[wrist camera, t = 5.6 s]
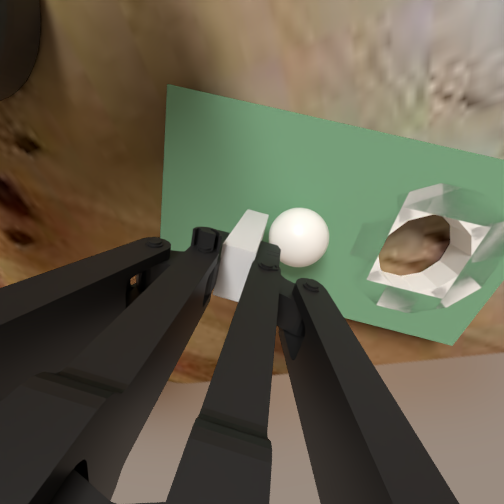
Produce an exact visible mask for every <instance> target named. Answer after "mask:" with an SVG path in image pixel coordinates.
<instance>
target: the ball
mask: <svg viewBox="0 0 504 504" xmlns="http://www.w3.org/2000/svg"><path fill="white" fill-rule="evenodd" d="M269 243H271V244H275V245H278V246H279V248H280V249H281V254H280V261H281V262H282V263H284V264H286V265H288V266H292V267H306V266H309V265H311V264H313V263H315V262H317V261H318V260H319V259H320V258H321V257H322V256H323V255H324V253H325V252H326V250H327V247H328V244H329V230H328V227H327V225H326V223H325V221H324V220H323V218H322V217H321V216H320V215H319V214H317V213H316V212H314V211H312V210H310V209H307V208H292V209H289V210H286V211H284V212H283V213H281V214H280V215H279V216H278V217H277V218H276V219H275V220H274V222H273V223H272V225H271V227H270V231H269Z"/></svg>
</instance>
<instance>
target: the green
mask: <svg viewBox="0 0 504 504" xmlns="http://www.w3.org/2000/svg"><path fill="white" fill-rule="evenodd" d="M292 208H307V209H310V210H312V211H314V212H316V213H317V214H319V215H320V216H321V217H322V218H323V220H324V221H325V223H326V225H327V227H328V230H329V244H328V247H327V250H326V252H325V253H324V255H323V256H322V257H321V258H320V259H319V260H318V261H317V262H315V263H313V264H311V265H309V266H306V267H292V266H288V265H286V264H284V263H282V262H281V261H280V264H279V267H280V268H281V275H282V276H283V277H284V278H286V279H287V280H289V281H291V282H293V283H295V282H296V281H297V279H299V278H308V279H313V280H316V281H318V282H319V283H320V284H322V285H323V286H324V287H325V288H326V290H327V291H328V293H329V294H330V296H331V298H332V299H333V301H334V302H335V304H336V306H337V307H338V309H339V311H340V312H341V314H342V315H343V317H344V318H347V319H351V320H355V321H359V322H363V323H366V324H370V325H374V326H378V327H382V328H386V329H390V330H394V331H397V332H401V333H405V334H409V335H413V336H417V337H421V338H425V339H428V340H432V341H436V342H440V343H444V344H448V345H453V344H454V343H455V342H456V340H457V339H458V338H459V337H460V335H461V334H462V333H463V331H464V330H465V329H466V328H467V326H468V325H469V324H470V322H471V321H472V320H473V319H474V317H475V316H476V315H477V313H478V312H479V311H480V310H481V308H482V307H483V306H484V304H485V303H486V302H487V301H488V299H489V298H490V297H491V296H492V294H493V293H494V292H495V290H496V289H497V288H498V287H499V285H500V284H501V283H502V281H503V280H504V160H502V159H497V158H493V157H489V156H484V155H480V154H475V153H471V152H466V151H462V150H458V149H453V148H449V147H444V146H440V145H435V144H431V143H427V142H422V141H418V140H413V139H409V138H404V137H400V136H396V135H391V134H387V133H382V132H378V131H374V130H369V129H365V128H360V127H356V126H351V125H347V124H343V123H338V122H334V121H329V120H325V119H320V118H316V117H312V116H307V115H303V114H298V113H294V112H290V111H285V110H281V109H276V108H272V107H267V106H263V105H259V104H254V103H250V102H245V101H241V100H236V99H232V98H228V97H223V96H219V95H214V94H210V93H206V92H201V91H197V90H192V89H188V88H183V87H179V86H175V85H170V84H167V100H166V122H165V144H164V166H163V187H162V209H161V231H160V238H162V239H165V240H167V241H169V242H170V244H171V250H174V251H186V250H187V249H188V248H189V247H190V246H191V240H192V232H193V228H195V227H210V228H214V229H216V230H221V231H225V232H228V233H231V232H232V230H233V229H234V228H235V226H236V225H237V223H238V222H239V221H240V219H241V218H242V216H243V215H244V214H245V212H246V211H247V209H249V210H253V211H256V212H260V213H264V214H268V215H269V217H268V220H267V224H266V228H265V231H264V235H263V239H262V241H264V242H267V243H269V231H270V227H271V225H272V223H273V222H274V220H275V219H276V218H277V217H278V216H279V215H280V214H281V213H283V212H284V211H286V210H289V209H292ZM434 214H435V215H439V216H442V217H443V218H444V219H445V220H446V221H447V222H448V223H449V225H450V244H449V246H448V247H447V249H446V251H445V252H444V254H443V256H442V257H441V259H440V260H439V261H438V262H436V263H435V264H433V265H432V266H430V267H429V268H427V269H426V270H424V271H423V272H420V273H415V274H409V275H404V276H399V275H395V274H391V273H387V272H383V271H382V270H381V269H380V264H379V257H378V255H379V253H380V251H381V249H382V247H383V245H384V243H385V241H386V239H387V237H388V235H390V234H391V233H392V232H394V231H395V230H396V229H398V228H399V227H400V226H402V225H403V224H404V223H406V222H407V221H408V220H413V219H417V218H421V217H425V216H429V215H434Z"/></svg>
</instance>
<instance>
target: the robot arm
mask: <svg viewBox="0 0 504 504" xmlns="http://www.w3.org/2000/svg"><path fill="white" fill-rule="evenodd" d="M39 40H40V5H39V0H0V100H3V99H5V98H7V97H9V96H11V95H12V94H14V93H15V92H16V91H17V90H18V89H19V88H20V87H21V86H22V85H23V84H24V83H25V81H26V80H27V78H28V76H29V75H30V73H31V71H32V68H33V66H34V63H35V60H36V56H37V52H38V47H39ZM268 217H269V215H268V214H264V213H260V212H256V211H253V210H249V209H247V211H246V212H245V214H244V215H243V216H242V218H241V219H240V221H239V222H238V223H237V225H236V226H235V228H234V229H233V230H232V232H231V233H228V232H225V231H221V230H216V229H214V228H210V227H195V228H193V232H192V240H191V246H190V247H189V248H188V249H187V250H186V251H174V250H171V244H170V242H169V241H167V240H165V239H162V238H159V237H148V238H143V239H140V240H137V241H134V242H131V243H129V244H126V245H123V246H120V247H117V248H114V249H111V250H108V251H106V252H103V253H100V254H97V255H94V256H91V257H88V258H86V259H83V260H80V261H77V262H74V263H71V264H68V265H66V266H63V267H60V268H57V269H54V270H51V271H48V272H45V273H43V274H40V275H37V276H34V277H31V278H28V279H25V280H23V281H20V282H17V283H14V284H11V285H8V286H5V287H3V288H0V504H115V503H113V502H111V501H110V500H111V498H112V495H113V493H114V490H115V488H116V485H117V482H118V479H119V476H120V473H121V470H122V468H123V465H124V463H125V461H126V459H127V457H128V455H129V453H130V451H131V449H132V447H133V445H134V443H135V441H136V440H137V438H138V436H139V434H140V432H141V430H142V428H143V426H144V424H145V422H146V421H147V419H148V417H149V415H150V413H151V411H152V409H153V407H154V405H155V403H156V402H157V400H158V398H159V396H160V394H161V392H162V390H163V388H164V386H165V385H166V383H167V381H168V379H169V377H170V375H171V373H172V371H173V370H174V368H175V366H176V364H177V362H178V360H179V358H180V356H181V354H182V352H183V351H184V349H185V347H186V345H187V343H188V341H189V339H190V337H191V335H192V334H193V332H194V330H195V328H196V326H197V324H198V322H199V320H200V318H201V317H202V315H203V313H204V311H205V309H206V307H207V305H208V303H209V301H210V297H211V292H212V290H213V288H214V291H213V295H215V296H219V297H222V298H226V299H229V300H233V301H236V302H238V305H237V308H236V311H235V313H234V316H233V319H232V322H231V325H230V328H229V331H228V334H227V336H226V339H225V342H224V345H223V348H222V351H221V354H220V357H219V359H218V362H217V365H216V368H215V371H214V374H213V377H212V380H211V382H210V385H209V388H208V391H207V394H206V397H205V400H204V403H203V406H202V409H201V411H200V414H199V416H198V417H197V418H196V420H195V423H194V425H193V427H192V430H191V433H190V436H189V438H188V441H187V444H186V447H185V449H184V452H183V455H182V458H181V461H180V463H179V466H178V469H177V472H176V475H175V477H174V480H173V483H172V486H171V489H170V492H169V494H168V497H167V500H166V502H160V503H138V504H269V496H270V481H271V465H272V446H271V441H270V440H269V439H268V437H267V427H268V415H269V403H270V391H271V380H272V369H273V358H274V346H275V335H276V325H277V326H278V327H279V336H280V340H281V344H282V348H283V352H284V356H285V361H286V365H287V369H288V373H289V377H290V380H291V385H292V389H293V393H294V397H295V401H296V405H297V409H298V413H299V417H300V421H301V426H302V430H303V434H304V438H305V442H306V446H307V450H308V454H309V458H310V462H311V466H312V470H313V474H314V478H315V482H316V486H317V490H318V494H319V499H320V503H321V504H459V503H458V501H457V499H456V498H455V496H454V494H453V493H452V491H451V490H450V488H449V486H448V485H447V483H446V482H445V480H444V478H443V477H442V475H441V474H440V472H439V470H438V469H437V467H436V466H435V464H434V462H433V461H432V459H431V457H430V456H429V454H428V452H427V451H426V449H425V448H424V446H423V444H422V443H421V441H420V440H419V438H418V436H417V435H416V433H415V432H414V430H413V428H412V427H411V425H410V424H409V422H408V420H407V419H406V417H405V416H404V414H403V412H402V411H401V409H400V407H399V406H398V404H397V402H396V401H395V399H394V398H393V396H392V394H391V393H390V391H389V390H388V388H387V386H386V385H385V383H384V382H383V380H382V378H381V377H380V375H379V373H378V372H377V370H376V369H375V367H374V365H373V364H372V362H371V361H370V359H369V357H368V356H367V354H366V352H365V351H364V349H363V348H362V346H361V344H360V343H359V341H358V340H357V338H356V336H355V335H354V333H353V331H352V330H351V328H350V327H349V325H348V323H347V322H346V320H345V319H344V317H343V315H342V314H341V312H340V311H339V309H338V307H337V306H336V304H335V302H334V301H333V299H332V298H331V296H330V294H329V293H328V291H327V290H326V288H325V287H324V286H323V285H322V284H320V283H319V282H318V281H316V280H313V279H308V278H299V279H297V281H296V282H295V283H293V282H291V281H289V280H287V279H286V278H284V277H283V276H282V275H281V268H280V267H279V264H280V254H281V249H280V248H279V246H278V245H275V244H271V243H267V242H264V241H262V239H263V235H264V231H265V228H266V224H267V220H268ZM135 275H136V283H135V284H133V285H131V284H130V279H131V278H132V277H133V276H135Z"/></svg>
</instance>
